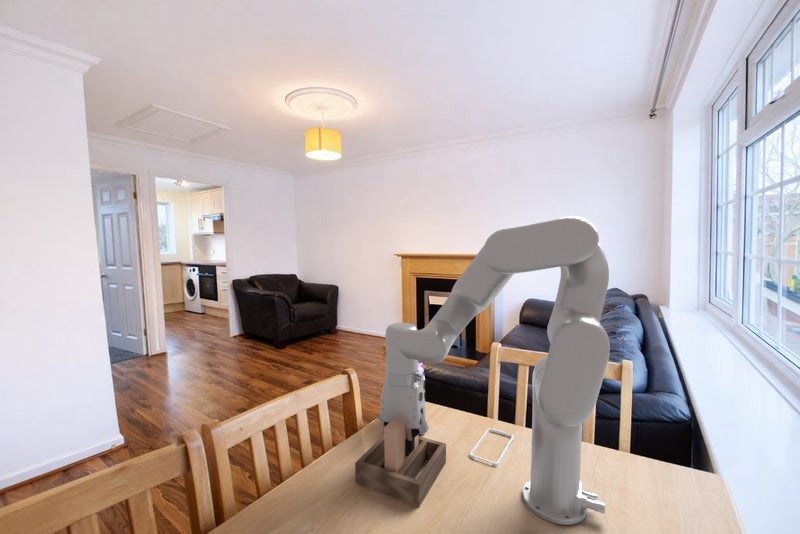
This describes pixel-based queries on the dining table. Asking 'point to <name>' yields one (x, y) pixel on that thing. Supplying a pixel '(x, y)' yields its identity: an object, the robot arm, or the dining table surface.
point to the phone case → (482, 440)
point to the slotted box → (402, 471)
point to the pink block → (396, 446)
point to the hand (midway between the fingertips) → (402, 450)
